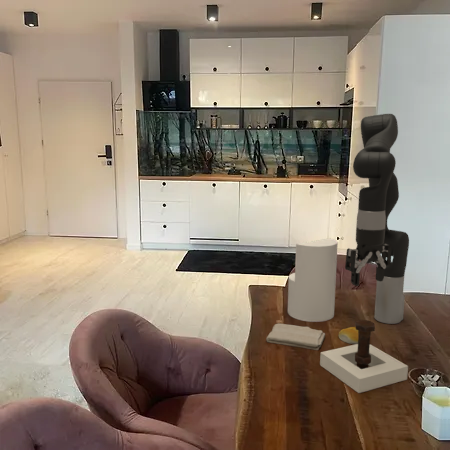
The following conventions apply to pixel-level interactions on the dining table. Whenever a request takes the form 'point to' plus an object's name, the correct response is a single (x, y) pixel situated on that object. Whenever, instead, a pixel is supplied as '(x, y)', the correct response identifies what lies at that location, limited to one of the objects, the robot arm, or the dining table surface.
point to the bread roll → (349, 335)
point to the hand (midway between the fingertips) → (367, 282)
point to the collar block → (363, 378)
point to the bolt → (363, 342)
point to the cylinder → (313, 281)
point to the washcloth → (296, 336)
